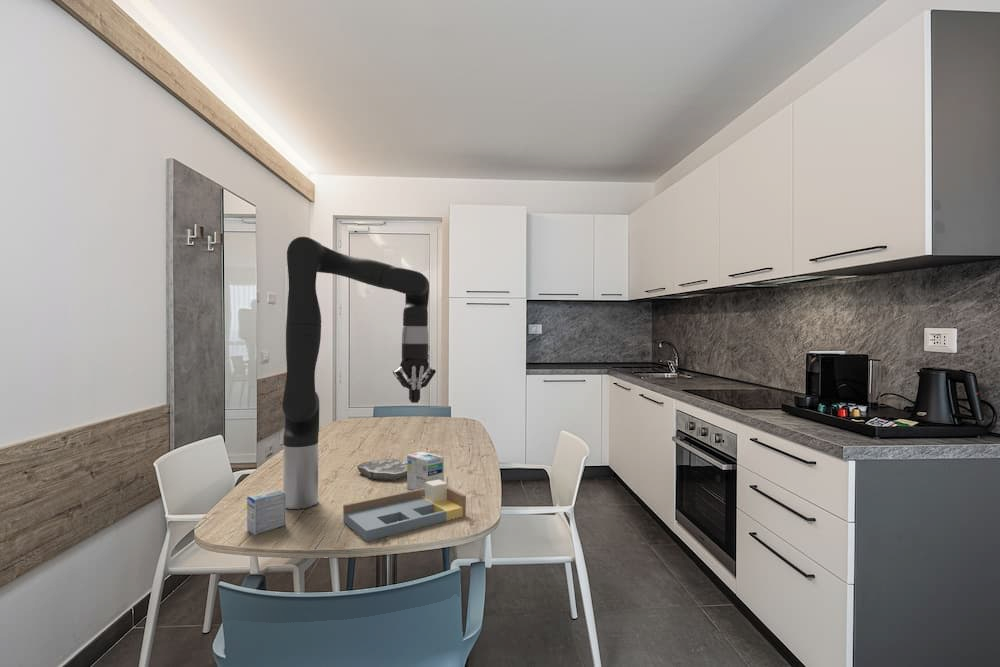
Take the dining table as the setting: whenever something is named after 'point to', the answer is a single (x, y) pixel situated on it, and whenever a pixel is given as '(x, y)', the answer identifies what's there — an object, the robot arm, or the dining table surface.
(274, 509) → the medicine box
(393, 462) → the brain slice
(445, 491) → the ivory block
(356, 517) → the trap deck
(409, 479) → the light bulb box
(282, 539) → the dining table surface
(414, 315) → the robot arm
